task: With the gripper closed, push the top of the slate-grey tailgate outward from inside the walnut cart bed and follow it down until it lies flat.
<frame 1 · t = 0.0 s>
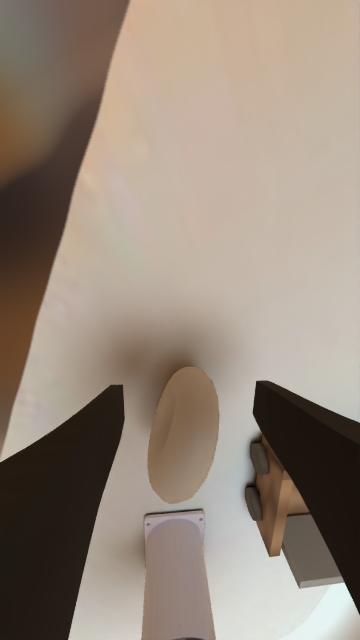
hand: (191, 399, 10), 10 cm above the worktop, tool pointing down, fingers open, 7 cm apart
cart bed: (314, 464, 25), on the worktop
donut: (176, 389, 21), on the worktop
tailgate: (338, 545, 21), point 5 cm above the worktop, hinge at 0.0°
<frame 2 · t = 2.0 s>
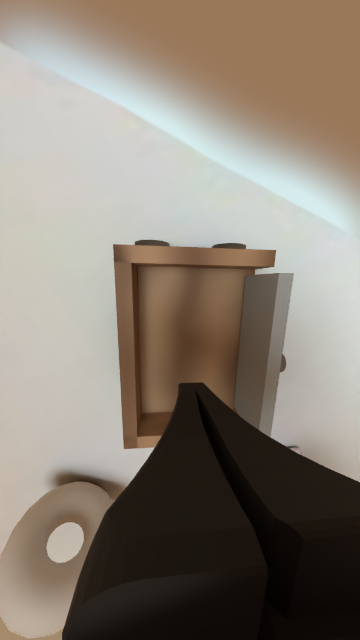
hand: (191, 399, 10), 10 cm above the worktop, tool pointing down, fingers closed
cart bed: (186, 339, 20), on the worktop
donut: (88, 483, 23), on the worktop
tailgate: (260, 355, 16), point 5 cm above the worktop, hinge at 0.0°
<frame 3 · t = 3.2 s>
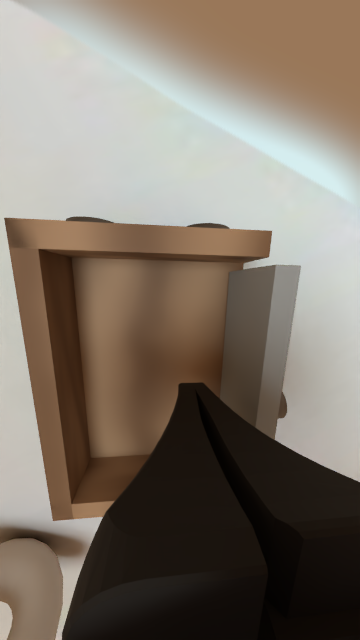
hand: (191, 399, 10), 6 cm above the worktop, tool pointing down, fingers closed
cart bed: (154, 357, 15), on the worktop
donut: (33, 537, 18), on the worktop
tailgate: (250, 388, 11), point 5 cm above the worktop, hinge at 0.0°
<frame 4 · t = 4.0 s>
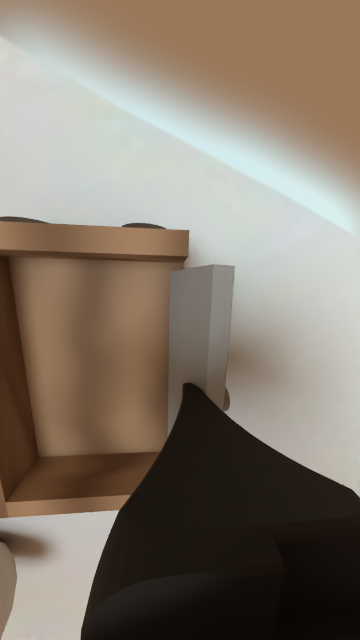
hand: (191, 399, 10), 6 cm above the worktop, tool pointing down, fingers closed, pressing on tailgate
cart bed: (105, 356, 15), on the worktop
tailgate: (196, 387, 11), point 5 cm above the worktop, hinge at 18.5°, touching gripper
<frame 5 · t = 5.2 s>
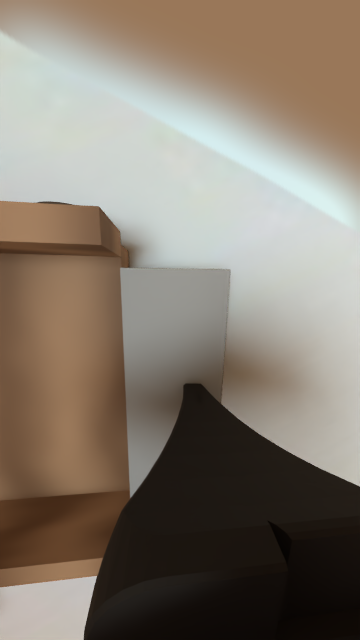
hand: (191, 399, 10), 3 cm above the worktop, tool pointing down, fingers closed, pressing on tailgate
cart bed: (40, 375, 12), on the worktop
tailgate: (174, 392, 10), point 2 cm above the worktop, hinge at 82.1°, touching gripper
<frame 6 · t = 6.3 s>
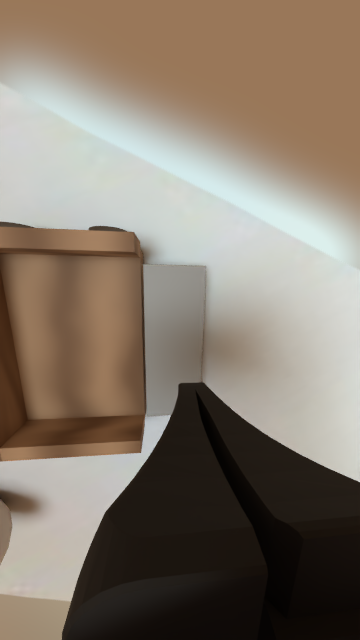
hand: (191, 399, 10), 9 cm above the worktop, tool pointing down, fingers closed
cart bed: (83, 337, 18), on the worktop
tailgate: (173, 343, 17), point 2 cm above the worktop, hinge at 92.0°
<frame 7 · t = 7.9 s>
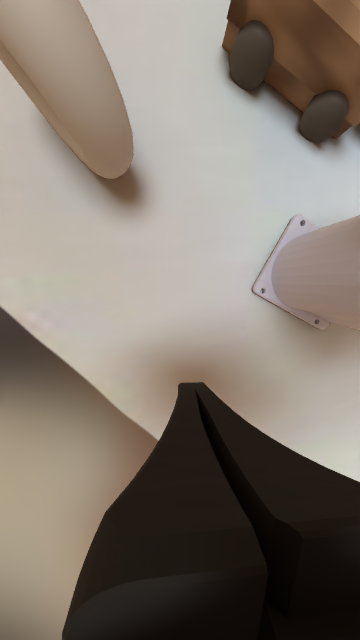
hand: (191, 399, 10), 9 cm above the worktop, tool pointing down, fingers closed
donut: (93, 145, 15), on the worktop
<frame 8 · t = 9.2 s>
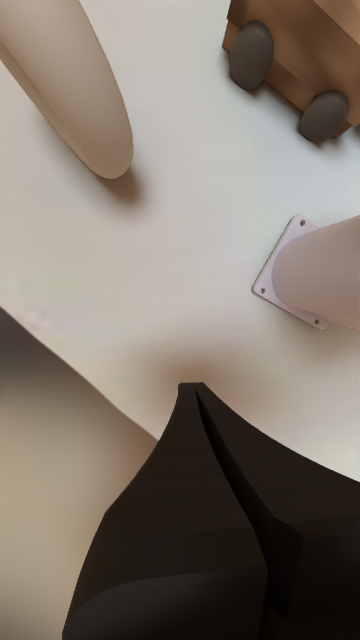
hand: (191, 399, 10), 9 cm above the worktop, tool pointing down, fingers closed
donut: (93, 145, 15), on the worktop
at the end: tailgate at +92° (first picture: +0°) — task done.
